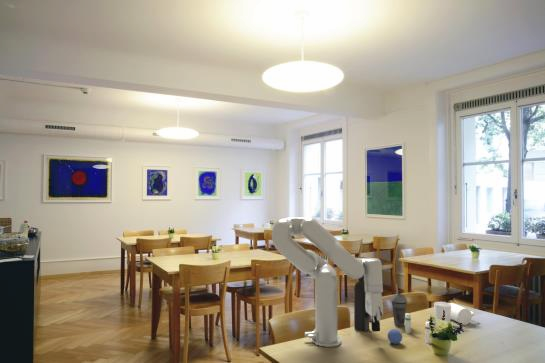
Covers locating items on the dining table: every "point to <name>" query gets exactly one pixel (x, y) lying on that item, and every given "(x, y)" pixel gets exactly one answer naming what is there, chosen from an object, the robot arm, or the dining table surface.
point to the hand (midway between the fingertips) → (375, 330)
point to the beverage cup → (399, 308)
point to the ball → (395, 336)
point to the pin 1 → (407, 323)
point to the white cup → (439, 310)
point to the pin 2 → (427, 333)
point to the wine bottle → (360, 306)
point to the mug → (461, 314)
